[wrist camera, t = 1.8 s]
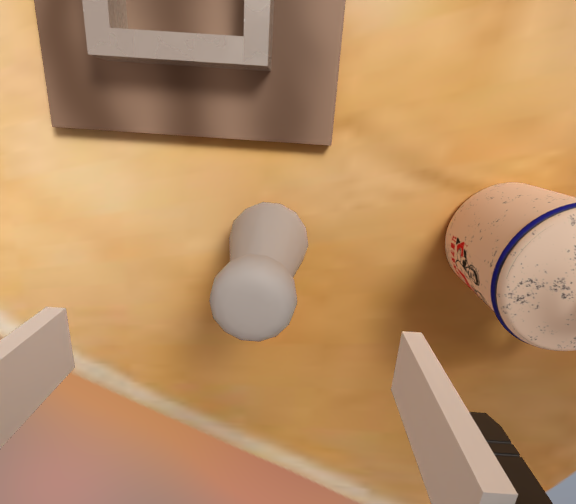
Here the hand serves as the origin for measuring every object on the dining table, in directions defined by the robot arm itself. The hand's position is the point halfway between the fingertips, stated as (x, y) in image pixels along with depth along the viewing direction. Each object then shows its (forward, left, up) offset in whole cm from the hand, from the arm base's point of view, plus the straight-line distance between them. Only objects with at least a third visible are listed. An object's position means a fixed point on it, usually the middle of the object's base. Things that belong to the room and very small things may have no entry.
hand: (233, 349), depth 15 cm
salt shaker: (0, 0, -16) cm, 16 cm away
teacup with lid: (-19, 0, -16) cm, 25 cm away
